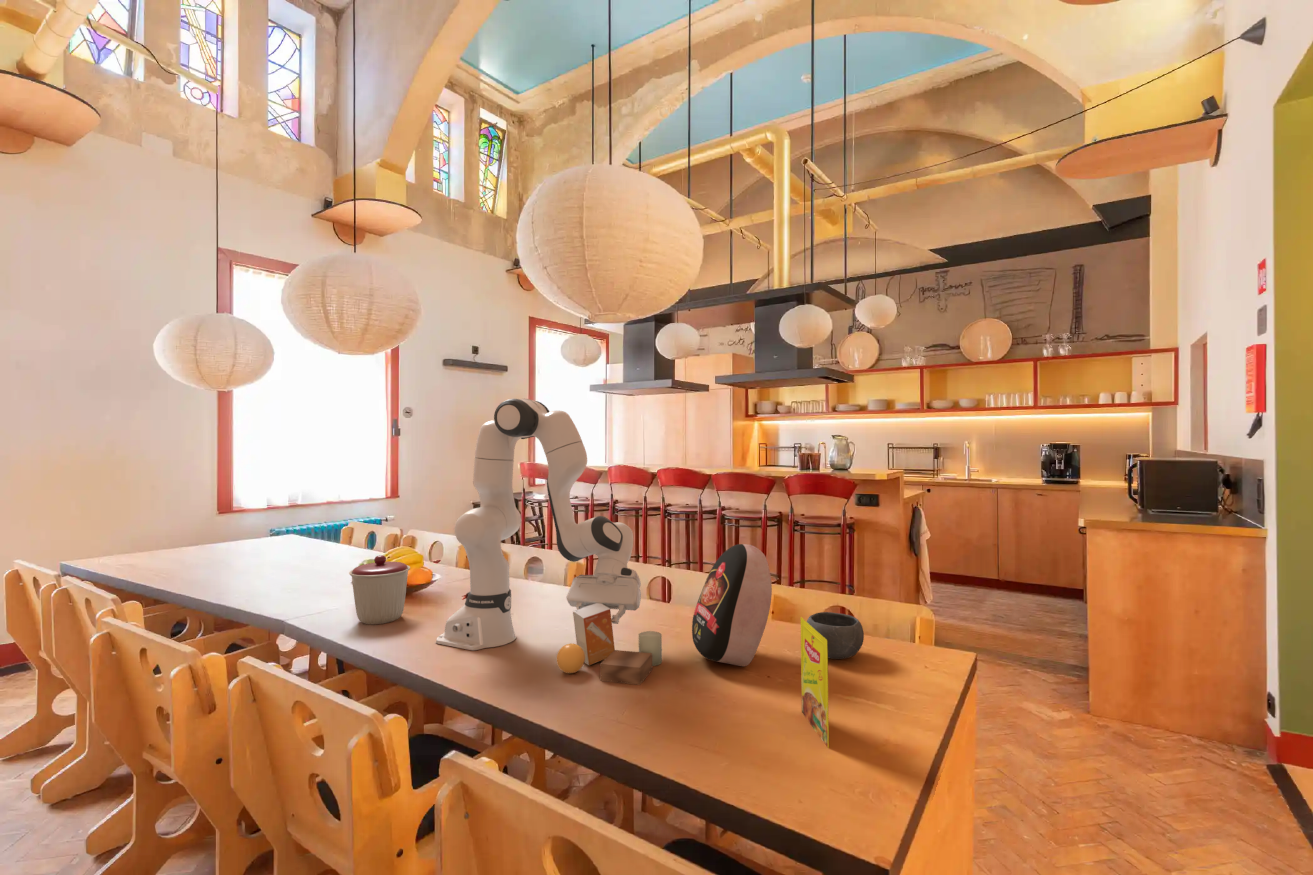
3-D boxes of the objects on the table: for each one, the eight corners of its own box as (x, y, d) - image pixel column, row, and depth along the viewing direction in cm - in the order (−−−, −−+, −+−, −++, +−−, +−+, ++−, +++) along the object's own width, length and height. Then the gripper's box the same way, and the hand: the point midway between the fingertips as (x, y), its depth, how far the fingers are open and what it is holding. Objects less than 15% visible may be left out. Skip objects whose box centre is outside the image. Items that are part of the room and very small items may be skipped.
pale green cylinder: (635, 664, 155) (635, 637, 155) (642, 656, 161) (642, 630, 161) (658, 666, 154) (657, 639, 154) (664, 658, 159) (664, 632, 159)
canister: (396, 609, 210) (396, 548, 210) (420, 619, 198) (419, 554, 198) (341, 620, 197) (340, 555, 197) (362, 632, 185) (361, 563, 185)
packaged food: (683, 648, 167) (681, 539, 167) (749, 642, 172) (748, 536, 172) (709, 678, 146) (708, 553, 146) (784, 670, 150) (782, 549, 151)
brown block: (600, 680, 145) (600, 663, 145) (614, 665, 155) (614, 649, 155) (640, 684, 142) (640, 667, 142) (652, 669, 152) (652, 653, 152)
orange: (551, 676, 148) (551, 647, 148) (564, 665, 155) (563, 638, 155) (578, 679, 146) (578, 649, 146) (589, 668, 153) (589, 640, 153)
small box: (589, 666, 154) (582, 618, 153) (577, 657, 160) (571, 610, 158) (616, 655, 159) (610, 608, 157) (604, 646, 164) (599, 601, 162)
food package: (799, 711, 127) (798, 616, 128) (804, 711, 127) (803, 616, 128) (825, 748, 112) (824, 640, 112) (831, 747, 112) (830, 639, 112)
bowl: (867, 650, 164) (866, 613, 164) (860, 669, 150) (860, 629, 150) (811, 643, 170) (810, 608, 170) (800, 661, 156) (799, 622, 156)
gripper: (571, 568, 169) (556, 612, 160) (641, 571, 164) (630, 617, 154) (578, 580, 173) (564, 624, 164) (646, 583, 168) (636, 630, 158)
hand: (597, 621), depth 159 cm, fingers closed on small box, 8 cm apart
